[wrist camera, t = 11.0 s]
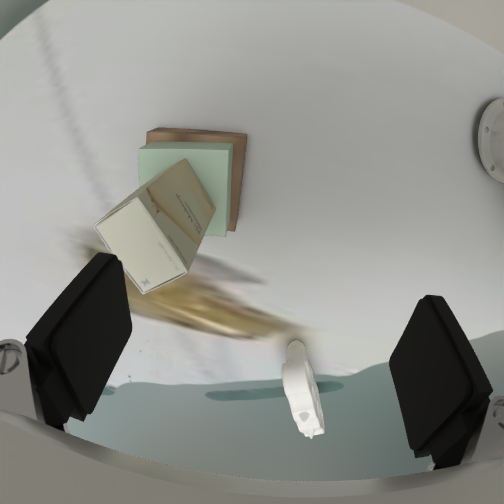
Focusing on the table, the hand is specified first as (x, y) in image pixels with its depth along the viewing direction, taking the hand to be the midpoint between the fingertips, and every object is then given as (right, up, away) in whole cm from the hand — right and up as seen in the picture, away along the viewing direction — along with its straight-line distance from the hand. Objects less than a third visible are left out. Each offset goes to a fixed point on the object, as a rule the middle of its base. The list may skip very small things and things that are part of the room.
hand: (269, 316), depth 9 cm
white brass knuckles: (+8, -18, +44) cm, 48 cm away
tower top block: (-7, +10, +25) cm, 28 cm away
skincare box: (-7, +8, +21) cm, 24 cm away
